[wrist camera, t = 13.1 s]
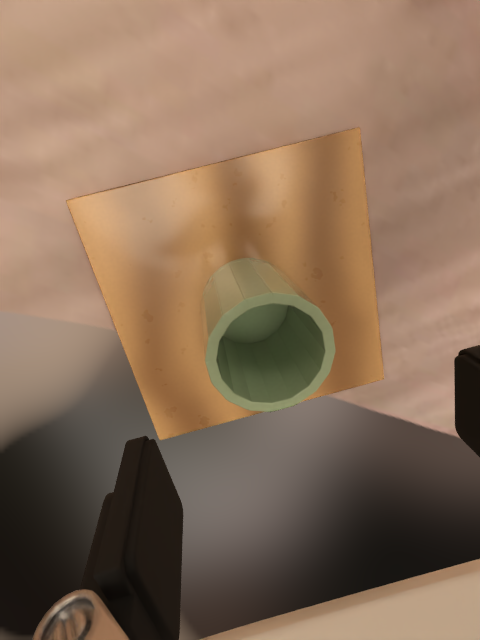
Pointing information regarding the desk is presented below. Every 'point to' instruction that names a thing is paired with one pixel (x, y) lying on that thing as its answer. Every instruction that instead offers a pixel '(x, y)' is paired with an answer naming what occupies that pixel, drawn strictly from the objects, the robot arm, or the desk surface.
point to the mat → (228, 245)
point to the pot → (263, 337)
